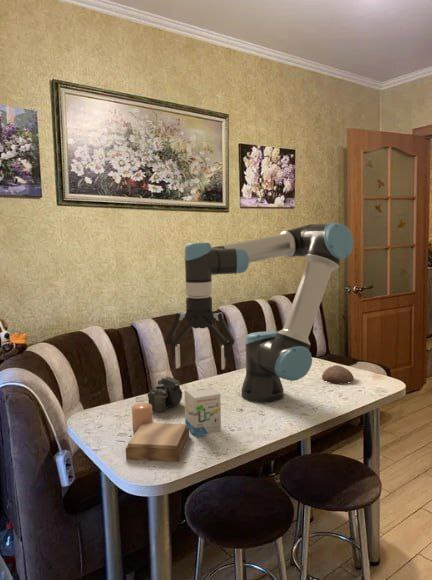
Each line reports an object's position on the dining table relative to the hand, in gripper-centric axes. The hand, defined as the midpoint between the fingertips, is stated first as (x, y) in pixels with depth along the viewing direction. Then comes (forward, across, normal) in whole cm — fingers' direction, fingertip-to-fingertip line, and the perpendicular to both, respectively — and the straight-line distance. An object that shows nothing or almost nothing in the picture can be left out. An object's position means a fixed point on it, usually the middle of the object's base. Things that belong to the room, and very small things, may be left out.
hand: (200, 367), depth 129 cm
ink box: (+19, 0, 0) cm, 19 cm away
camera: (+19, +15, -16) cm, 29 cm away
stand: (+19, +10, +13) cm, 25 cm away
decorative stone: (+19, -46, -49) cm, 70 cm away
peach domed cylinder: (+19, +18, +2) cm, 26 cm away
